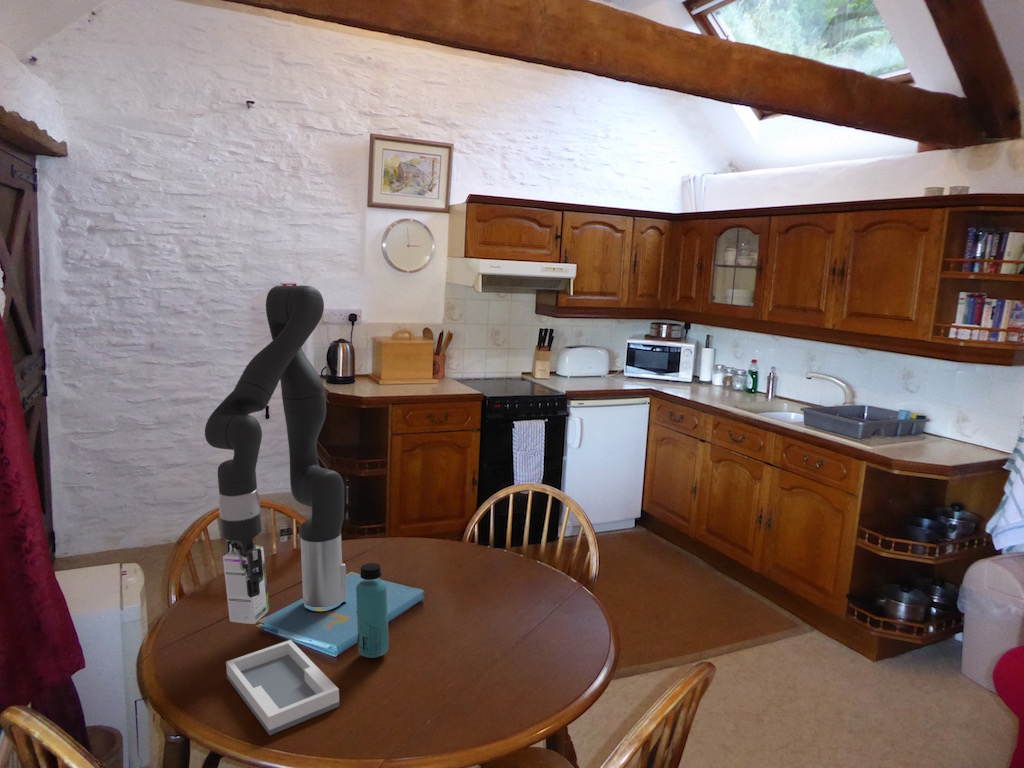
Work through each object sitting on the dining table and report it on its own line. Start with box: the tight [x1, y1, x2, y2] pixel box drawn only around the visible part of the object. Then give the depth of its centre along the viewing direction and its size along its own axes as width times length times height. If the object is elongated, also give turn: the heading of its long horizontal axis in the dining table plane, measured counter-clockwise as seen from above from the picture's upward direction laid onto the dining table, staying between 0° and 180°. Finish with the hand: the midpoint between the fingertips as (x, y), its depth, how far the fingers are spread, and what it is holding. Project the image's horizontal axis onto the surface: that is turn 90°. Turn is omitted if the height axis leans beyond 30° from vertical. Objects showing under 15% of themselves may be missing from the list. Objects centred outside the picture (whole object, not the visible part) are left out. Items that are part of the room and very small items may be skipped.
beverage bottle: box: [355, 562, 390, 659], centre depth 146 cm, size 6×7×20 cm
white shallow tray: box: [225, 639, 340, 736], centre depth 135 cm, size 13×22×4 cm, turn 40°
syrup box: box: [222, 544, 270, 625], centre depth 145 cm, size 6×6×14 cm
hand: (246, 588), depth 145 cm, fingers closed on syrup box, 7 cm apart
